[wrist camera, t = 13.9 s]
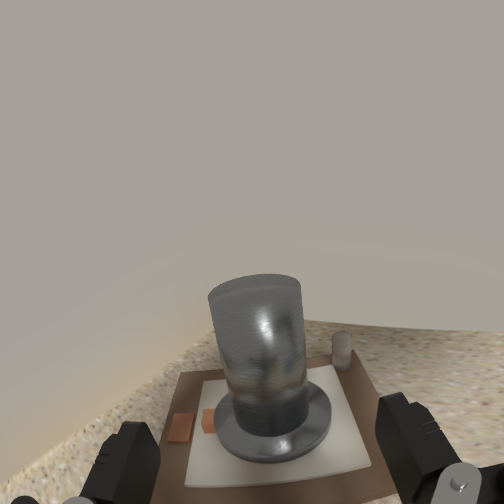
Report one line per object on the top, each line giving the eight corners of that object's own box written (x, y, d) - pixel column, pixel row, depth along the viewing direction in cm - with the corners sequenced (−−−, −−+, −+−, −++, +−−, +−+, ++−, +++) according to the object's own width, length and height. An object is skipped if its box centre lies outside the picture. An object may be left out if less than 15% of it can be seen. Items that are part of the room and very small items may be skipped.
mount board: (353, 360, 27) (354, 321, 26) (414, 486, 12) (432, 447, 11) (184, 381, 27) (172, 345, 26) (148, 516, 13) (120, 482, 12)
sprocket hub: (319, 378, 23) (312, 259, 20) (342, 452, 15) (348, 310, 13) (210, 391, 23) (182, 276, 21) (199, 468, 15) (147, 335, 13)
